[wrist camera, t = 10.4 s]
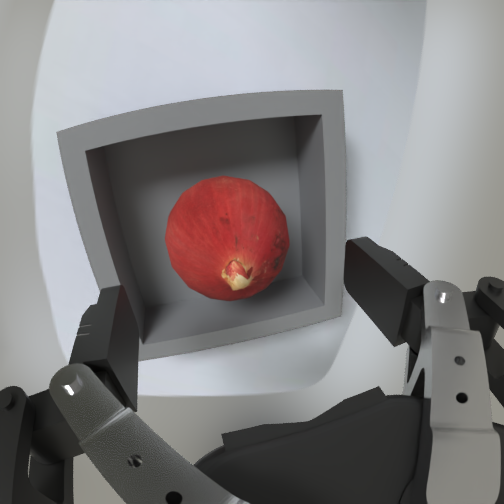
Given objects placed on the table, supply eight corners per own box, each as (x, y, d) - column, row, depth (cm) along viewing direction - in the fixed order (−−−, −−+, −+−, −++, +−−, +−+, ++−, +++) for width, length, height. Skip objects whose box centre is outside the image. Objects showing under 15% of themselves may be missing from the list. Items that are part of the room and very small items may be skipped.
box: (83, 126, 15) (56, 131, 11) (306, 92, 17) (342, 90, 13) (134, 318, 21) (130, 362, 17) (313, 281, 23) (341, 316, 19)
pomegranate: (277, 175, 18) (341, 222, 11) (253, 263, 20) (293, 347, 13) (177, 156, 16) (176, 191, 9) (161, 251, 19) (155, 338, 12)
